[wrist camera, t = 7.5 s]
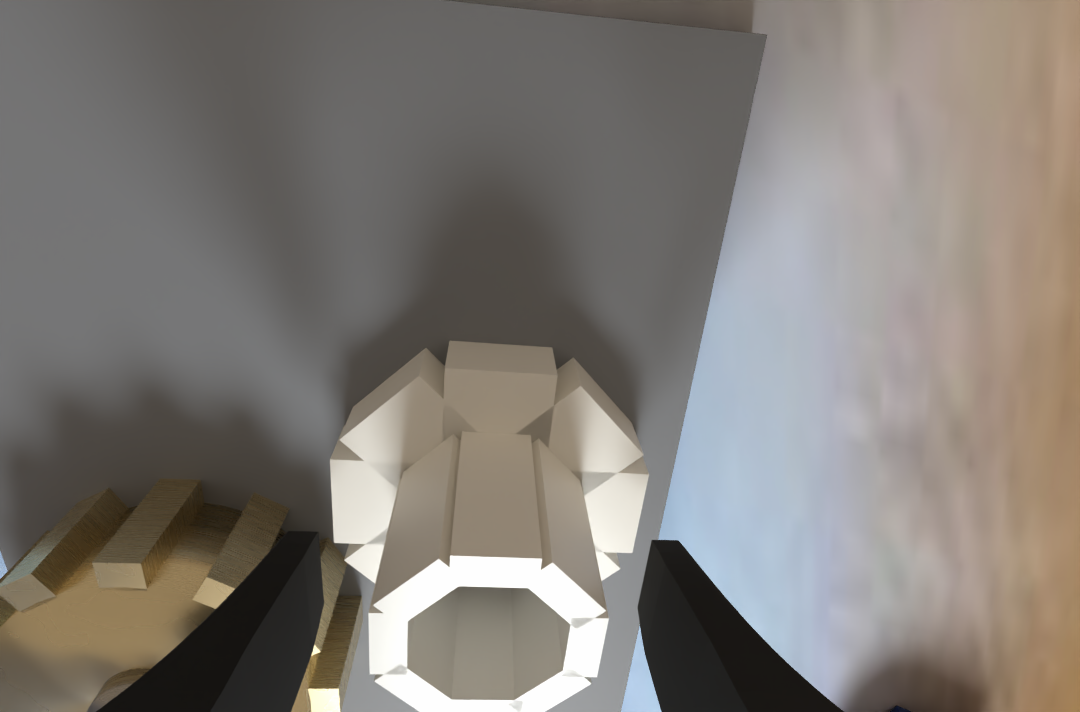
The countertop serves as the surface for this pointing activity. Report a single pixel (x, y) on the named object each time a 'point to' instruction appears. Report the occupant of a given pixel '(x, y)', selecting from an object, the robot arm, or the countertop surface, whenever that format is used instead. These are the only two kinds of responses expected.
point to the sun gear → (148, 597)
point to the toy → (899, 709)
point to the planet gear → (487, 525)
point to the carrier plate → (342, 240)
